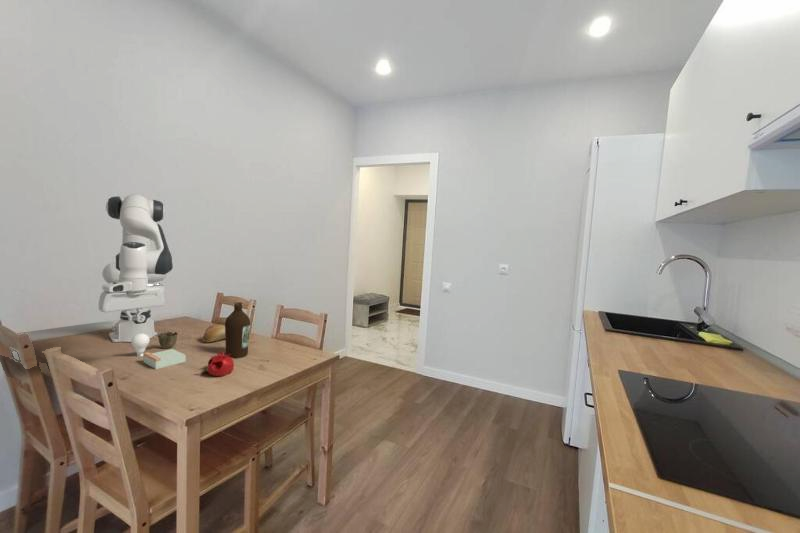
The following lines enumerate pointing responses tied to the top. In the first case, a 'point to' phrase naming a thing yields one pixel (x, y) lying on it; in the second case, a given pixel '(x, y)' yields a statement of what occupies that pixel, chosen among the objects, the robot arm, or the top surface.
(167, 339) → the cup
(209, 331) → the bread roll
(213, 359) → the pomegranate
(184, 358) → the mint green flat box
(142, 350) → the lightbulb
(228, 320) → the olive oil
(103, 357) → the top surface
